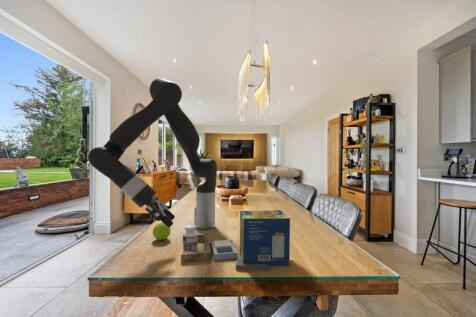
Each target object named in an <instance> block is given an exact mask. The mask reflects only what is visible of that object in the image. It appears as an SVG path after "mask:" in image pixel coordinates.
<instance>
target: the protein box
mask: <svg viewBox="0 0 476 317" xmlns="http://www.w3.org/2000/svg"><path fill="white" fill-rule="evenodd" d="M239 213H240V214H239V255H240V256H239V257H240V258H241V263H254V264H269V267H289V266H290V250H291V249H290V248H291V246H290V244H291V243H290V241H291V239H290V238H291V218H290V217H289V216H288V215H287V214H286V213H284V211H282V210H278V209H277V210H275V209H274V210H240V211H239Z"/></svg>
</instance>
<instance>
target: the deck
mask: <svg viewBox="0 0 476 317" xmlns="http://www.w3.org/2000/svg"><path fill="white" fill-rule="evenodd" d="M210 250H211V254H212V257H213V260H214V261H218V260H219V261H220V260H230V259H231V260H233V259H234V260H235V259H237V258H238V255H239V254H238V253H239V252H238V250H237V249H236V246H235V244H234V242H233V240H232V239H227V240H226V239H224V240H211V241H210Z"/></svg>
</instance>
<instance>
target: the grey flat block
mask: <svg viewBox="0 0 476 317" xmlns="http://www.w3.org/2000/svg"><path fill="white" fill-rule="evenodd" d="M235 263H236V264H235V270H236V271H252V272H253V271H257V272H269V270H270V268H269V267H270V266H269V264H254V263H242V261H241V257H240V258H236V262H235Z"/></svg>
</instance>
